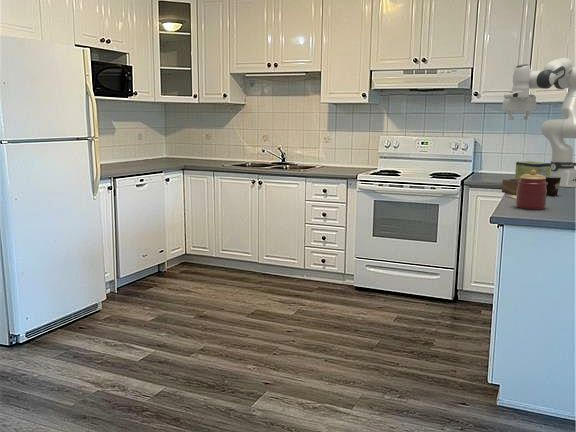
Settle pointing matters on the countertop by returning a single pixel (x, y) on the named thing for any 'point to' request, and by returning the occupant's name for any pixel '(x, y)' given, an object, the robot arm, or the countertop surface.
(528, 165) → the protein box
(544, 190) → the canister
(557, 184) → the coffee mug
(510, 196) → the lid
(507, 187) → the open wooden box
